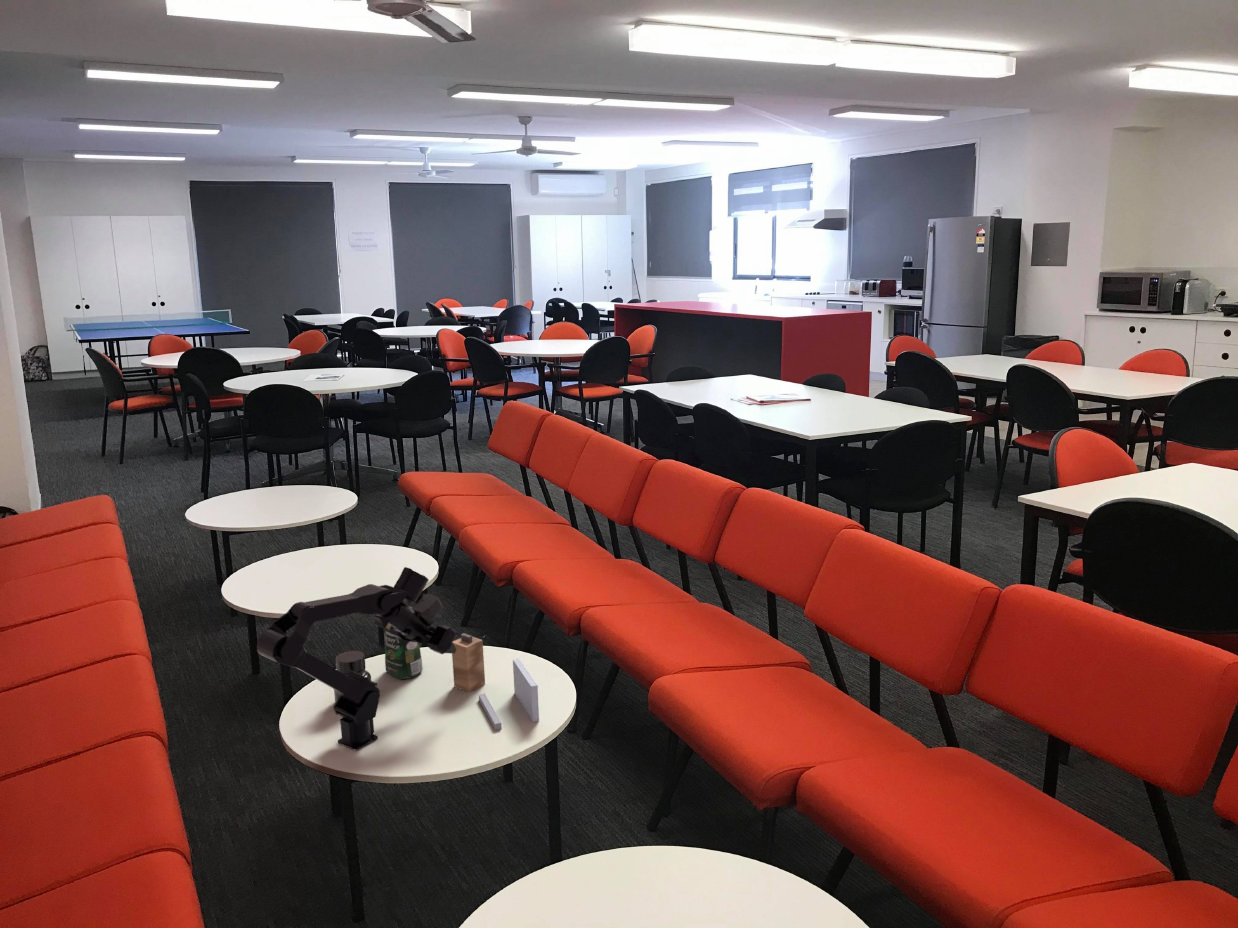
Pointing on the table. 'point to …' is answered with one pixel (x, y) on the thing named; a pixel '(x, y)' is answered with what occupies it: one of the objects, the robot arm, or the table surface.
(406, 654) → the coffee jar
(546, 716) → the table surface
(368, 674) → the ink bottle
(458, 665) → the tan upright block
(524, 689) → the wall dock
